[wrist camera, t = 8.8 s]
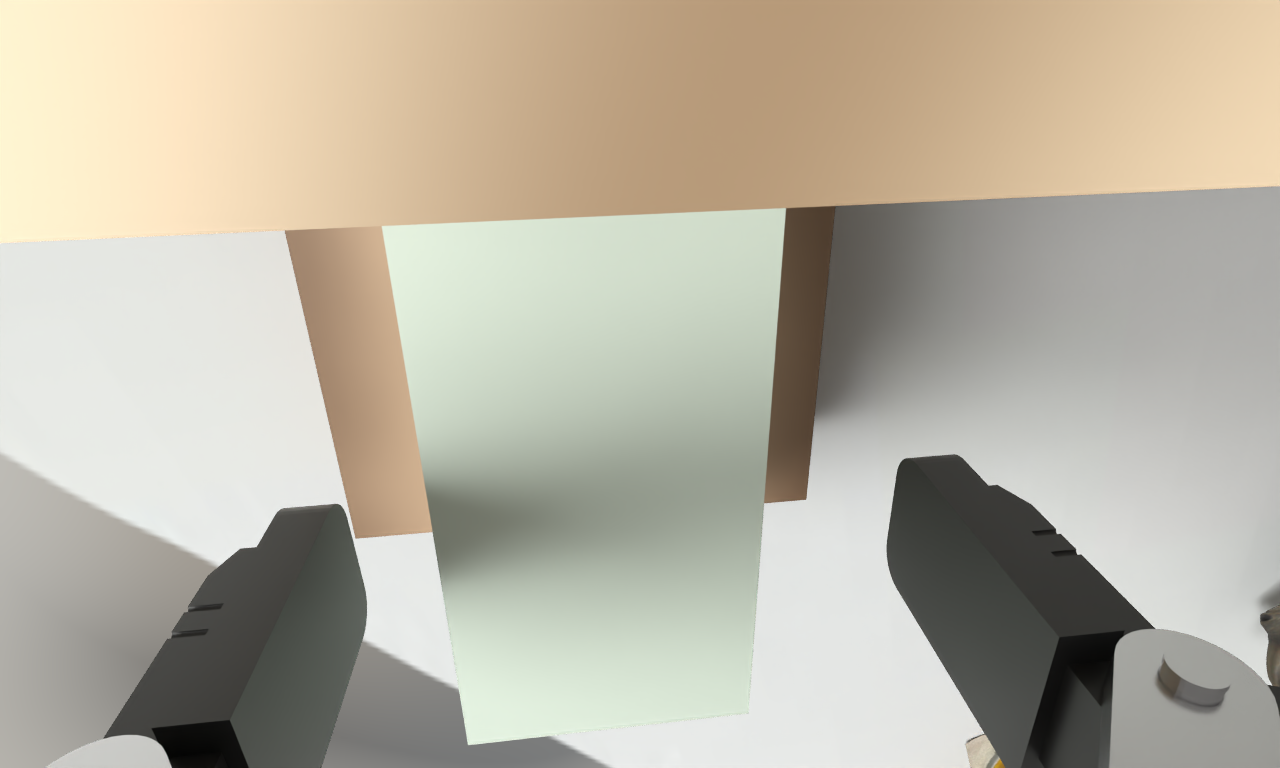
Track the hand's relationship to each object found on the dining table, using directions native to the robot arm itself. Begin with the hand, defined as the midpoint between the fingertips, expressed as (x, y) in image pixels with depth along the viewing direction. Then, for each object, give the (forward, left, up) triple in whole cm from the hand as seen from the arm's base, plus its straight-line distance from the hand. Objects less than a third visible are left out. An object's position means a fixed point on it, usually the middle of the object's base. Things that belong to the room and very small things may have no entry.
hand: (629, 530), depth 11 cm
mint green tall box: (0, 0, -7) cm, 7 cm away
